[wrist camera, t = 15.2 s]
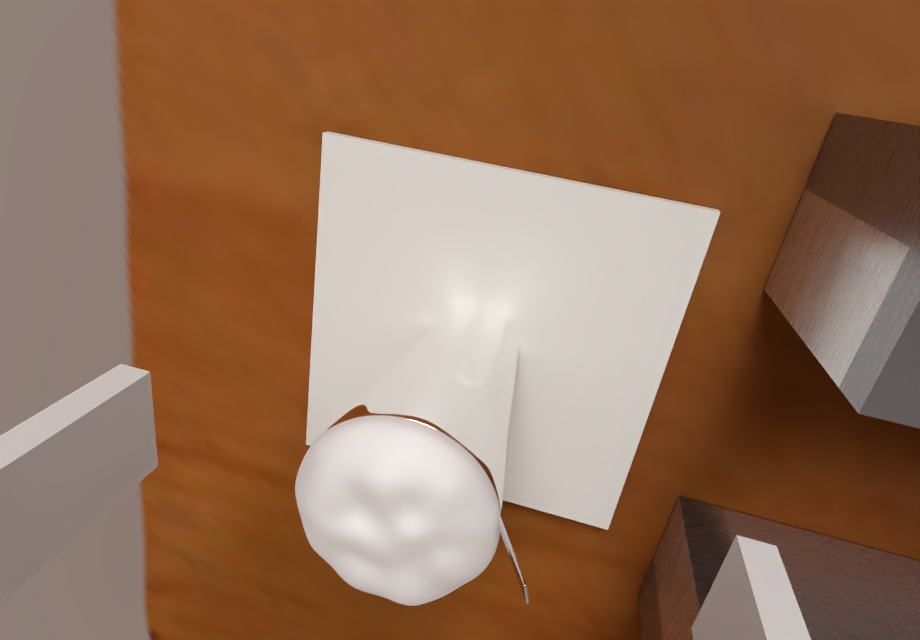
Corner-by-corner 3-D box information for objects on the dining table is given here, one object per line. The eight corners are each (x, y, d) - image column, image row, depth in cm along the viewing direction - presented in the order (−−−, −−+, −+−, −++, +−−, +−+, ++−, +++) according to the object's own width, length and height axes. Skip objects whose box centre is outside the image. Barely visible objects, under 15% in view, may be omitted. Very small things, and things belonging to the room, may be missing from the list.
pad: (717, 209, 16) (720, 212, 16) (607, 522, 22) (607, 529, 21) (328, 131, 18) (323, 132, 18) (310, 438, 23) (306, 444, 23)
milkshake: (568, 407, 20) (539, 688, 11) (418, 408, 21) (281, 658, 12) (557, 281, 18) (514, 486, 9) (396, 290, 19) (219, 477, 10)
